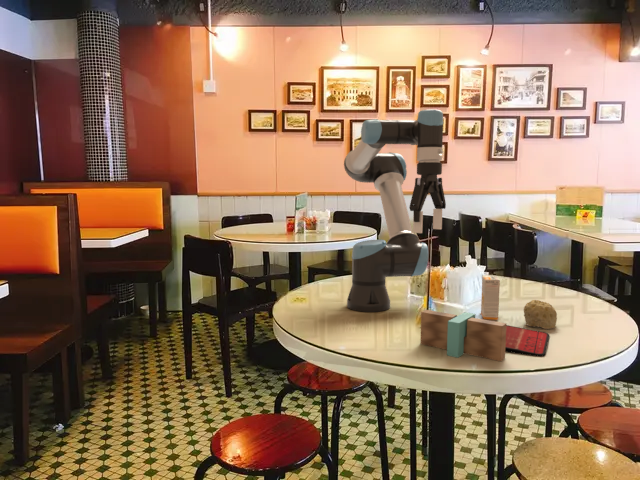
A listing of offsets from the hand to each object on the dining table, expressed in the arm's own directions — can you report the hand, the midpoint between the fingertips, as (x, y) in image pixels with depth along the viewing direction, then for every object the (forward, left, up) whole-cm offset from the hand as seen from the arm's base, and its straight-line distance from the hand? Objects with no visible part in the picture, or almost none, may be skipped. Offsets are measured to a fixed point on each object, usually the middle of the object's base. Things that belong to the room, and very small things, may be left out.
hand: (427, 231), depth 160 cm
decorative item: (+30, +17, -29) cm, 45 cm away
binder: (+29, -3, -29) cm, 42 cm away
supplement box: (+14, +17, -29) cm, 37 cm away
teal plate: (+20, -20, -29) cm, 40 cm away
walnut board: (+20, -20, -29) cm, 40 cm away
